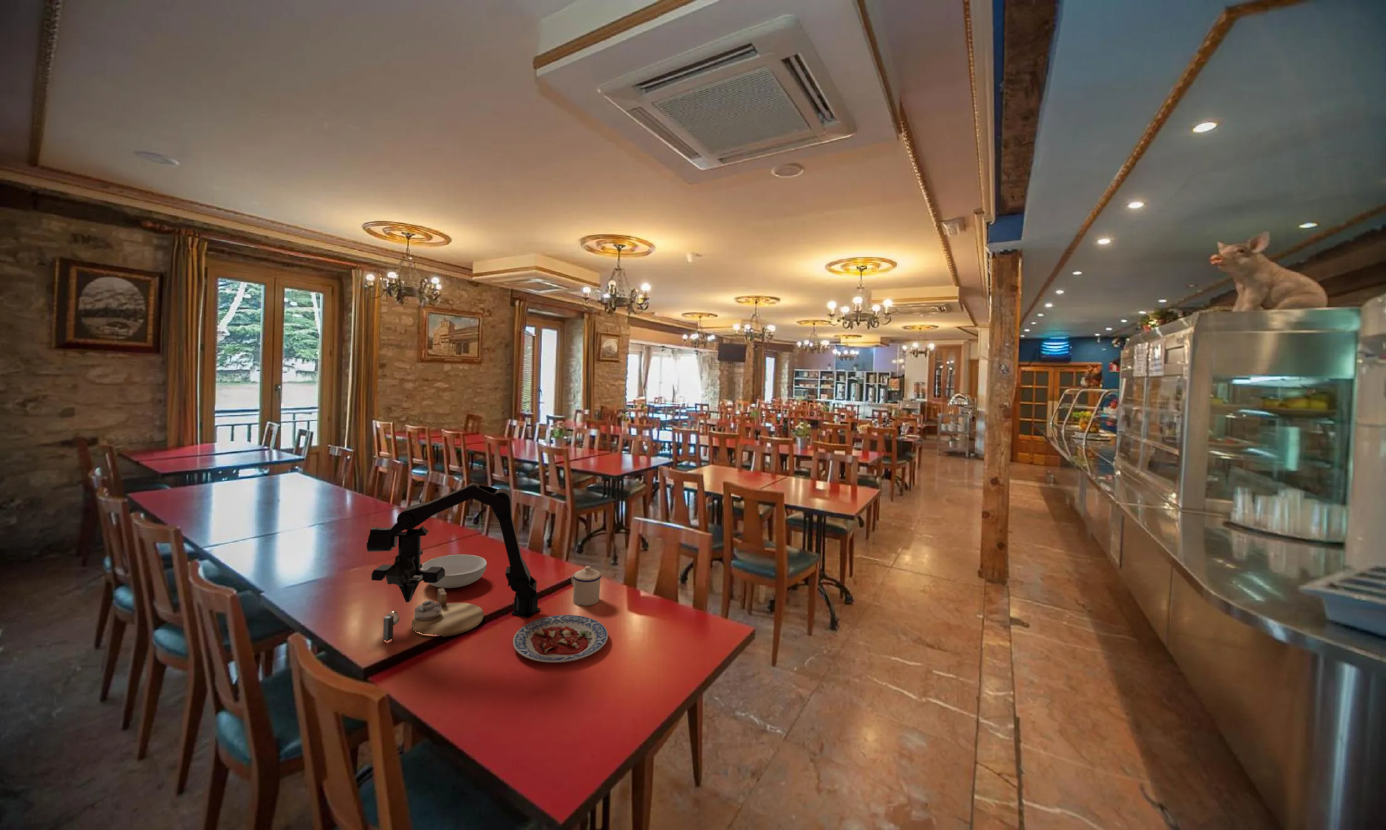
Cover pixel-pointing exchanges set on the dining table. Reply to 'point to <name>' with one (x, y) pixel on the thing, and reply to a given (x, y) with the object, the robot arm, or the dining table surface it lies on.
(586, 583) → the teacup with lid
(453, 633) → the tan piece
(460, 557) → the serving bowl
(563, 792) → the dining table surface
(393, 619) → the dial gauge
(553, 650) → the ceramic plate
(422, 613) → the cover
